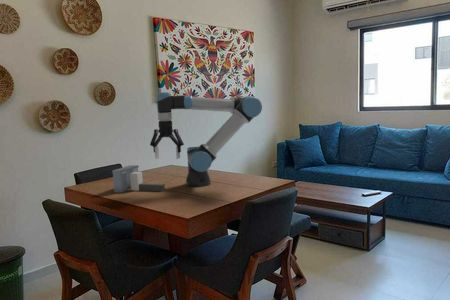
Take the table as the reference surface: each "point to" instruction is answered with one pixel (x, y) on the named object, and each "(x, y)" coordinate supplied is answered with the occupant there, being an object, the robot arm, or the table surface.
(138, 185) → the plug
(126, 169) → the housing
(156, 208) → the table surface
